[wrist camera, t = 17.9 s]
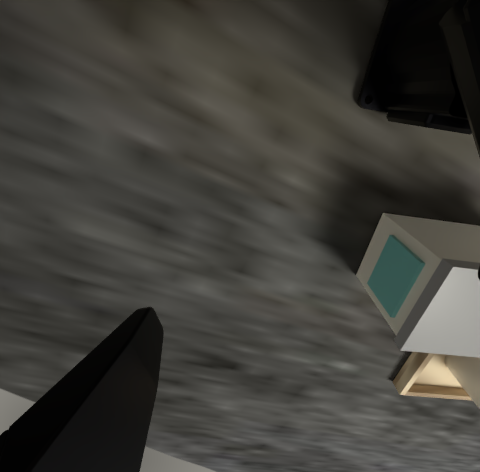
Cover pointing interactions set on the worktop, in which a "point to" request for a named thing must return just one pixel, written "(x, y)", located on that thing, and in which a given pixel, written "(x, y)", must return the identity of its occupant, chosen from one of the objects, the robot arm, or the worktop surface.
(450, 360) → the cartridge
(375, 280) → the box
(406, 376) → the refill tray
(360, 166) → the worktop surface
